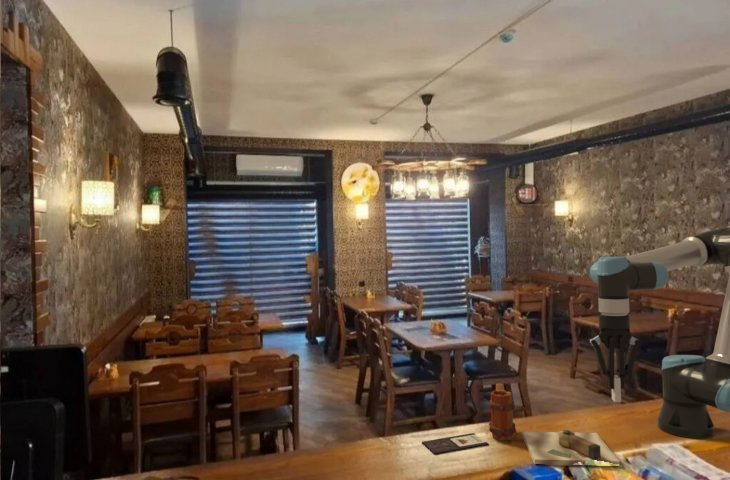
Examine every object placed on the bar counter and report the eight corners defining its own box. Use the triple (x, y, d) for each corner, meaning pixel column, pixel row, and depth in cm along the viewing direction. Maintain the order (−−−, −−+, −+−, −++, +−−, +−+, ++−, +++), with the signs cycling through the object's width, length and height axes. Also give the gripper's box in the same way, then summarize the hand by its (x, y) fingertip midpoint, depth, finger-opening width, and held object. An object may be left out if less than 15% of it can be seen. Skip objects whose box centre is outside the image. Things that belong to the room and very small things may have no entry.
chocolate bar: (421, 441, 157) (473, 432, 162) (421, 444, 157) (473, 435, 162) (434, 453, 148) (488, 443, 154) (434, 456, 148) (488, 446, 154)
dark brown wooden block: (555, 442, 149) (555, 429, 149) (567, 440, 151) (566, 427, 151) (590, 460, 137) (590, 446, 137) (603, 457, 139) (602, 443, 139)
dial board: (596, 437, 156) (596, 432, 156) (619, 466, 136) (619, 460, 136) (522, 436, 159) (522, 431, 159) (534, 464, 139) (534, 458, 139)
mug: (517, 444, 153) (516, 394, 153) (489, 443, 155) (488, 394, 155) (513, 426, 167) (512, 381, 167) (488, 425, 169) (486, 380, 169)
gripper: (634, 311, 141) (636, 396, 141) (584, 311, 143) (587, 396, 143) (645, 315, 134) (647, 405, 134) (592, 316, 135) (595, 404, 135)
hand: (616, 400), depth 138 cm, fingers closed
